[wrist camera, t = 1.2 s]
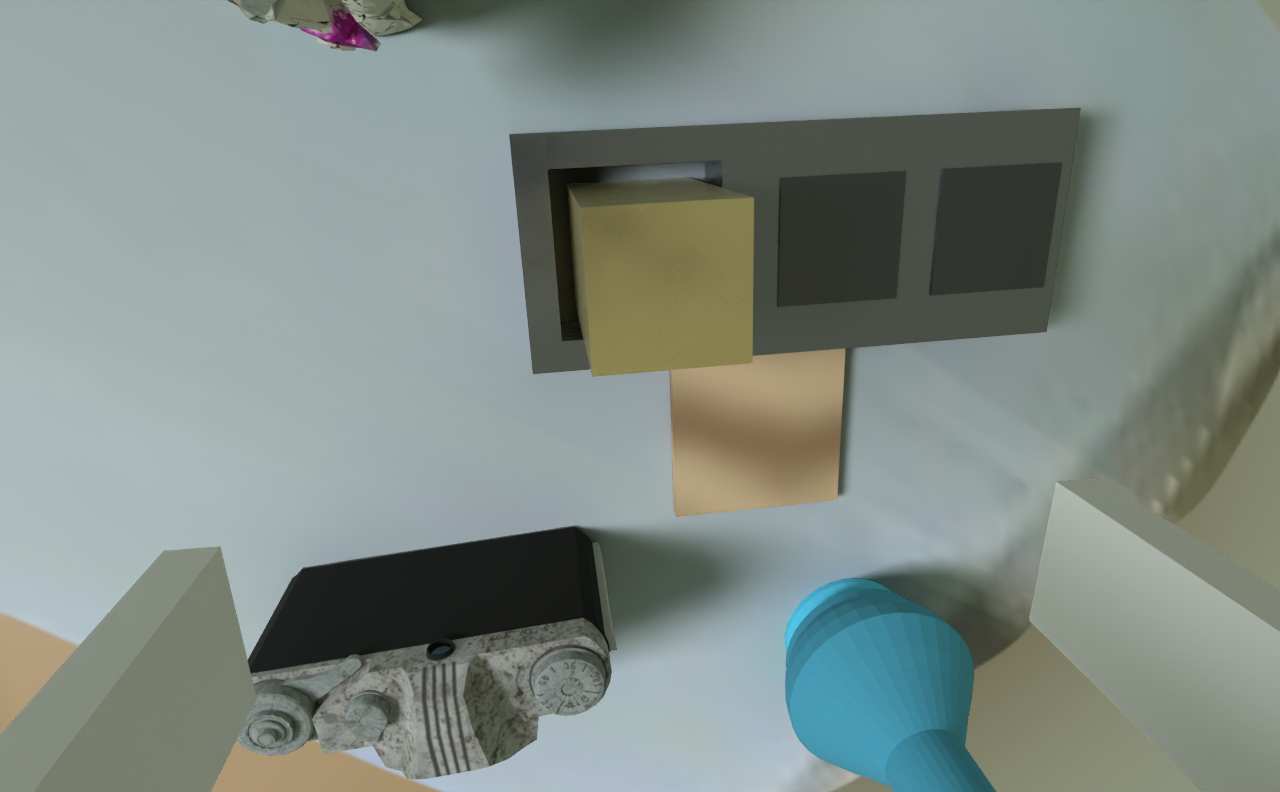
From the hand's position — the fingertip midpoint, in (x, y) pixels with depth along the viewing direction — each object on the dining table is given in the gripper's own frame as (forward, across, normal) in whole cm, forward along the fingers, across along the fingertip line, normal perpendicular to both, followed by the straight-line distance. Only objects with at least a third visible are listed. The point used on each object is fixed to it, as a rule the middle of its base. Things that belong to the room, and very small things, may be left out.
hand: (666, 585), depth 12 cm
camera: (+22, -7, -15) cm, 27 cm away
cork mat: (+21, +8, -6) cm, 24 cm away
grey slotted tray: (+21, +8, +3) cm, 23 cm away
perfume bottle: (+22, +13, -19) cm, 31 cm away
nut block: (+21, +2, +2) cm, 22 cm away
